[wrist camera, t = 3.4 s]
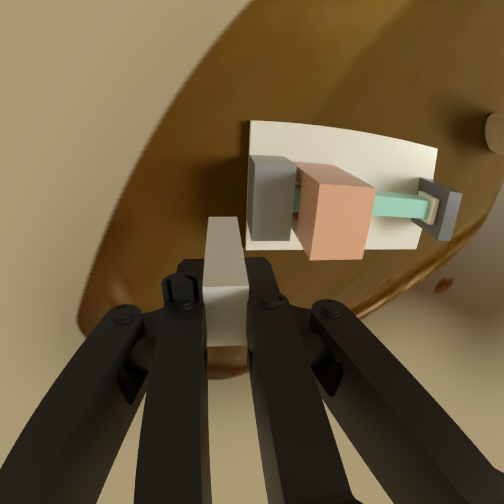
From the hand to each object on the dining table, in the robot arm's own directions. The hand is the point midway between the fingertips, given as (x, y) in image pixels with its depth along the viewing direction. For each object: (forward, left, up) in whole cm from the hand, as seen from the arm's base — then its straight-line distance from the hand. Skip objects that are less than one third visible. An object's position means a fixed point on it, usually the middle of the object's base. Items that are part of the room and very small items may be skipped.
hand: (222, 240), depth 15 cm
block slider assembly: (0, +12, -11) cm, 16 cm away
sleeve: (0, +8, -10) cm, 12 cm away
